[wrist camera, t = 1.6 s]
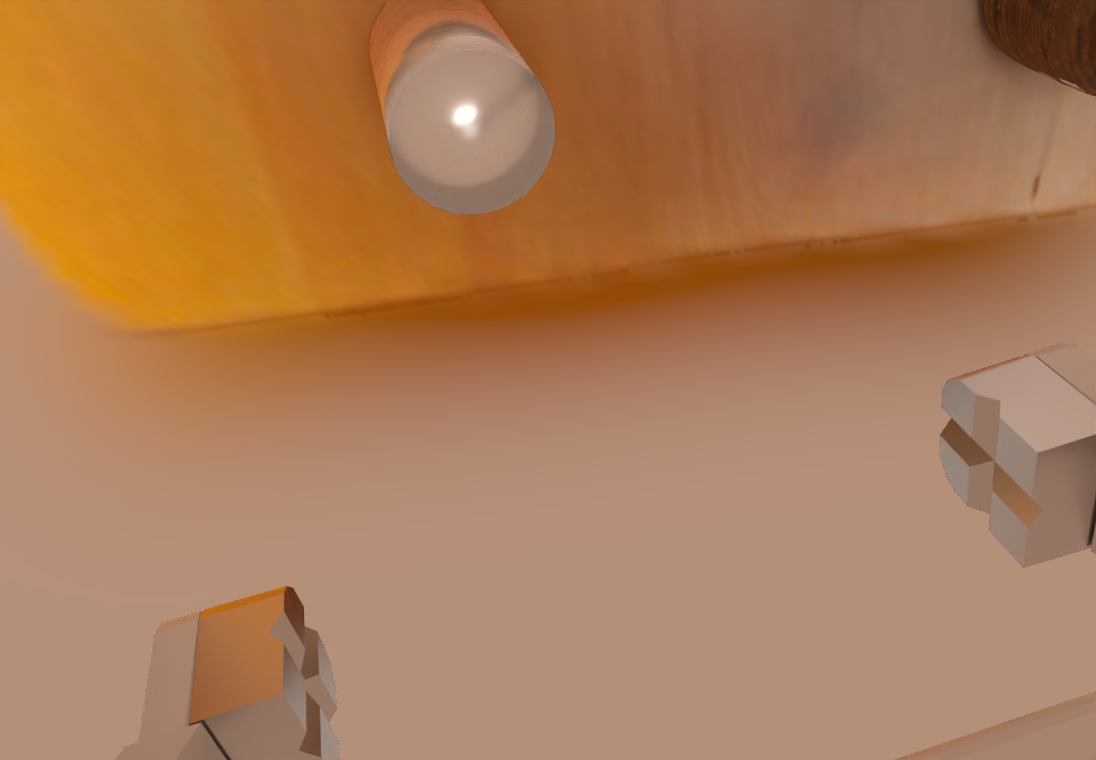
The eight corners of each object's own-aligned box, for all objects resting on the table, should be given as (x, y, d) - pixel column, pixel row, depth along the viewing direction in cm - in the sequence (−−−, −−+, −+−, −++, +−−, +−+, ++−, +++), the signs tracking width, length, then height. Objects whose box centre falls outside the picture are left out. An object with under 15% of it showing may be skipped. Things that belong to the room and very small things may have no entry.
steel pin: (482, -35, 28) (536, 29, 22) (512, 95, 31) (569, 189, 24) (351, 1, 28) (366, 76, 22) (391, 129, 30) (416, 233, 24)
